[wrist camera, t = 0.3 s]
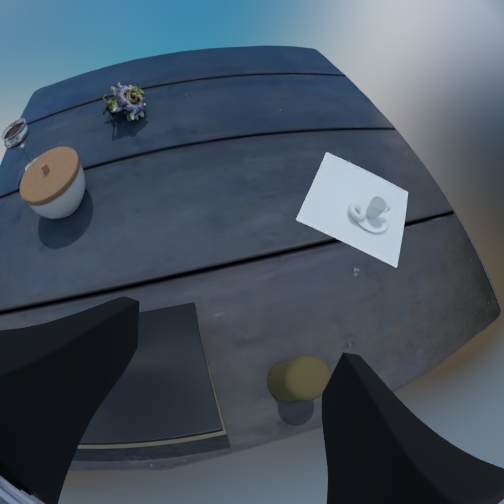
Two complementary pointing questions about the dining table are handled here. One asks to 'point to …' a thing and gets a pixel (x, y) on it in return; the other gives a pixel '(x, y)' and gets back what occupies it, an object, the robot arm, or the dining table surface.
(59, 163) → the lidded bowl
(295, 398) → the olive peanut shape
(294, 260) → the dining table surface
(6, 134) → the wineglass
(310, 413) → the dining table surface
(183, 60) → the dining table surface
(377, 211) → the teacup and saucer
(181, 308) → the panel
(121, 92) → the passion flower
